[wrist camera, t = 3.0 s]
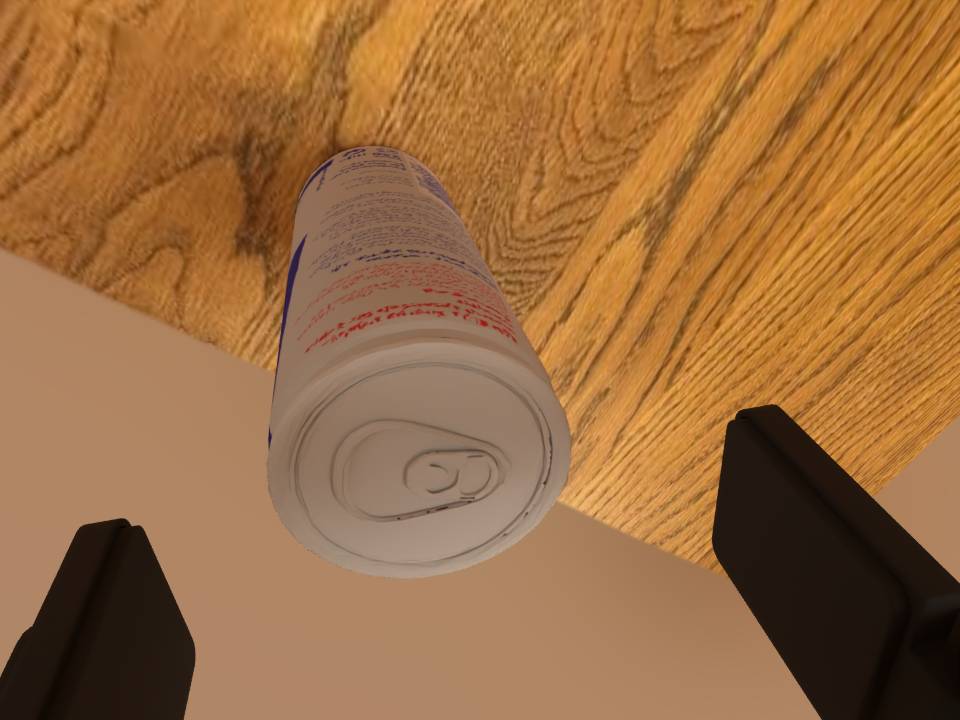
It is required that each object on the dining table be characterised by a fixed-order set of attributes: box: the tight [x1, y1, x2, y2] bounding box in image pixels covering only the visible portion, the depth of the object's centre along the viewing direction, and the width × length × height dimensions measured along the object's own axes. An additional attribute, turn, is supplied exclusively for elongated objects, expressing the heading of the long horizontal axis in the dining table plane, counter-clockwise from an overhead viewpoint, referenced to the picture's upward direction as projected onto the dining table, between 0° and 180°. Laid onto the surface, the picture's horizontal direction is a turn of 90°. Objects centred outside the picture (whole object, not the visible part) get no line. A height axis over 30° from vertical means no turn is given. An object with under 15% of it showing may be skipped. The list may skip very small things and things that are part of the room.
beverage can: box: [267, 146, 572, 579], centre depth 19 cm, size 6×6×15 cm
